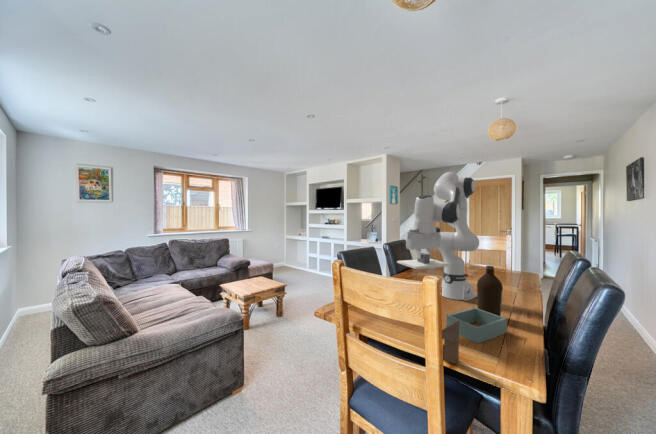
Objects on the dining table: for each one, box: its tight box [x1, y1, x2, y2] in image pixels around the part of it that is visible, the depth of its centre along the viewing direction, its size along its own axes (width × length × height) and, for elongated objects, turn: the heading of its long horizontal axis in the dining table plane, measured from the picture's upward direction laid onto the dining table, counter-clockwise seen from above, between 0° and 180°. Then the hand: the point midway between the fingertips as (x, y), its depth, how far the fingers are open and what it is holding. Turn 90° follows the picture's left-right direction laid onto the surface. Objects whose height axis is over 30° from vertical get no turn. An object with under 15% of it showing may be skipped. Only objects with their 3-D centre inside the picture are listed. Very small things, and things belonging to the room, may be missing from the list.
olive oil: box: [476, 265, 504, 317], centre depth 124 cm, size 11×11×25 cm
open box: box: [446, 307, 508, 344], centre depth 110 cm, size 20×14×6 cm
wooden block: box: [441, 320, 460, 365], centre depth 90 cm, size 4×11×18 cm, turn 38°
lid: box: [396, 252, 451, 270], centre depth 121 cm, size 20×14×5 cm
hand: (423, 258), depth 121 cm, fingers closed on lid, 3 cm apart
